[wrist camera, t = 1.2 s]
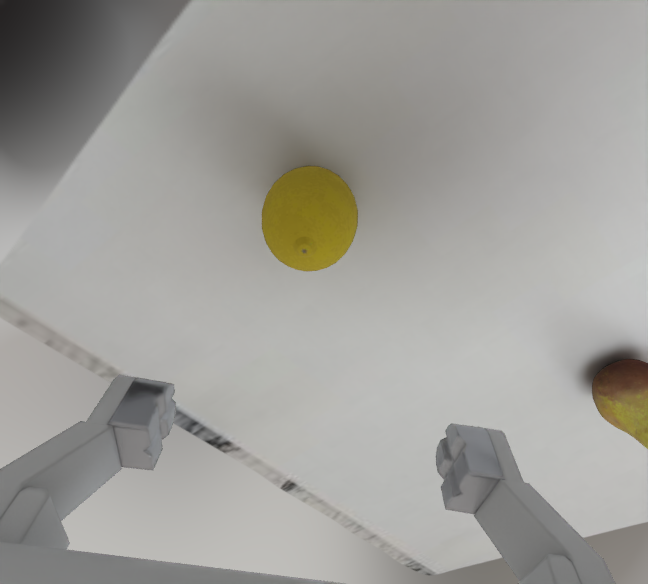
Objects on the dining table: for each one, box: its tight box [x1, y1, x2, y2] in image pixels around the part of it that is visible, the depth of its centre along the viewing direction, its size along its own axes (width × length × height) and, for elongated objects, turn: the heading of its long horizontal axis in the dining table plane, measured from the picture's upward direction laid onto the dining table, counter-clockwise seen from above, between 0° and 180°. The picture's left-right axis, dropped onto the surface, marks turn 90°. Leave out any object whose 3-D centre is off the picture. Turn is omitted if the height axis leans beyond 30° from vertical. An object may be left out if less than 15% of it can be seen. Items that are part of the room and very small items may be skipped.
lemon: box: [262, 166, 358, 271], centre depth 23 cm, size 6×6×8 cm
